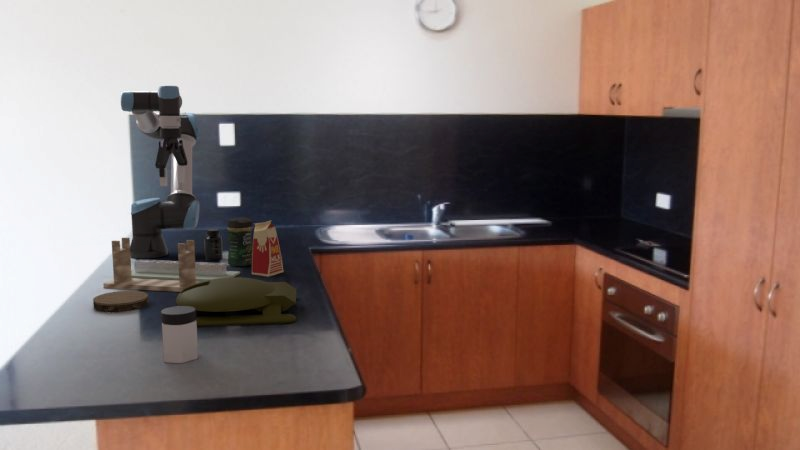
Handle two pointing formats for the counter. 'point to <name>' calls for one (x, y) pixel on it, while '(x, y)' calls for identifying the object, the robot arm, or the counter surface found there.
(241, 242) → the coffee jar
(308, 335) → the counter surface
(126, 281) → the rail rack
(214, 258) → the supplement bottle
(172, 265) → the steel rail
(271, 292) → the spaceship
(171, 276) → the sage mat
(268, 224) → the milk carton
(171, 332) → the jar
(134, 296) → the wooden log slice
